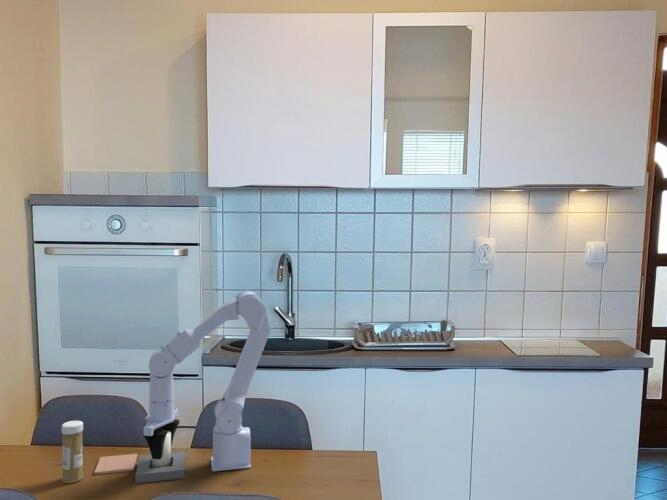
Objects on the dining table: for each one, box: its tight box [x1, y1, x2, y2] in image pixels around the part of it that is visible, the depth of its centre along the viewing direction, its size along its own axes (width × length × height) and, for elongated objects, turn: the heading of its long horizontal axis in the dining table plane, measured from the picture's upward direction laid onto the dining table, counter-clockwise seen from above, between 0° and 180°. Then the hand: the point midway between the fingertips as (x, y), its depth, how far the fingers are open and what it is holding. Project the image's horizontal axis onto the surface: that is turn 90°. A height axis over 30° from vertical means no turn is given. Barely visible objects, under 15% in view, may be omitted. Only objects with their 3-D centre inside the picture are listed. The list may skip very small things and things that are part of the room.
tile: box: [93, 453, 138, 476], centre depth 132 cm, size 9×9×1 cm
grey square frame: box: [135, 451, 186, 484], centre depth 129 cm, size 11×11×2 cm
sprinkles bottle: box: [61, 420, 84, 484], centre depth 124 cm, size 5×5×14 cm
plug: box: [151, 430, 172, 468], centre depth 129 cm, size 4×4×8 cm
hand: (161, 454), depth 129 cm, fingers closed on plug, 4 cm apart
